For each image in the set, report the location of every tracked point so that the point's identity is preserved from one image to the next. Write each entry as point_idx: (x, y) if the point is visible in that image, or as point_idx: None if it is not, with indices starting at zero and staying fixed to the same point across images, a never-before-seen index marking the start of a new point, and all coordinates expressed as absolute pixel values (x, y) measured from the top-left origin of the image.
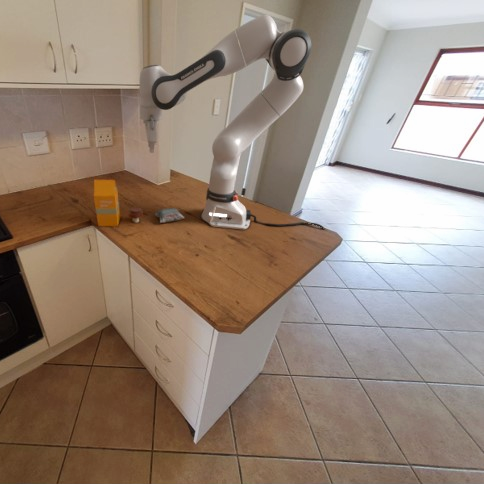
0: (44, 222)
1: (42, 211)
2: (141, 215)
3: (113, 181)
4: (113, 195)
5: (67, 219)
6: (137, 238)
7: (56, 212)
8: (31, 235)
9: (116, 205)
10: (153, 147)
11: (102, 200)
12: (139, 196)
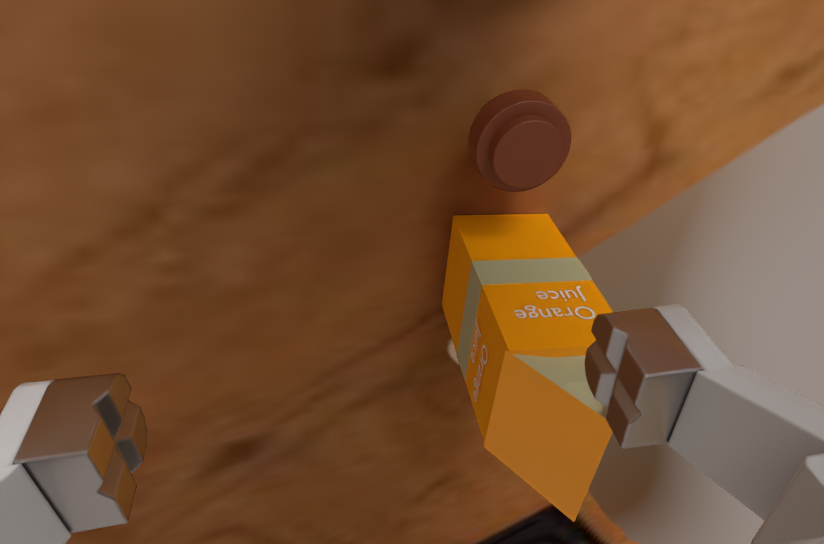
0: (463, 474)
1: (366, 510)
2: (542, 95)
3: None
4: None
5: (444, 421)
6: (704, 93)
7: (375, 472)
8: None
9: (574, 289)
10: (768, 392)
11: None
12: (55, 118)
